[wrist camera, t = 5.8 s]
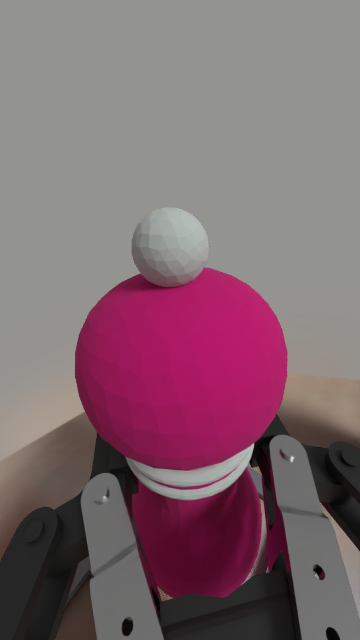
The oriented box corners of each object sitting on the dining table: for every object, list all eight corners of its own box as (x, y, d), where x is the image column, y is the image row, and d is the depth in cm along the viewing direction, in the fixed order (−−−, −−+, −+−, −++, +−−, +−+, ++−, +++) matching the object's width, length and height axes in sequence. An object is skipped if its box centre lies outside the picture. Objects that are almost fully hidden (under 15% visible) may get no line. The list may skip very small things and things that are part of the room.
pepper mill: (131, 505, 17) (-5, 213, 7) (213, 456, 20) (214, 185, 9) (171, 658, 12) (-286, 412, 1) (279, 564, 14) (493, 196, 3)
